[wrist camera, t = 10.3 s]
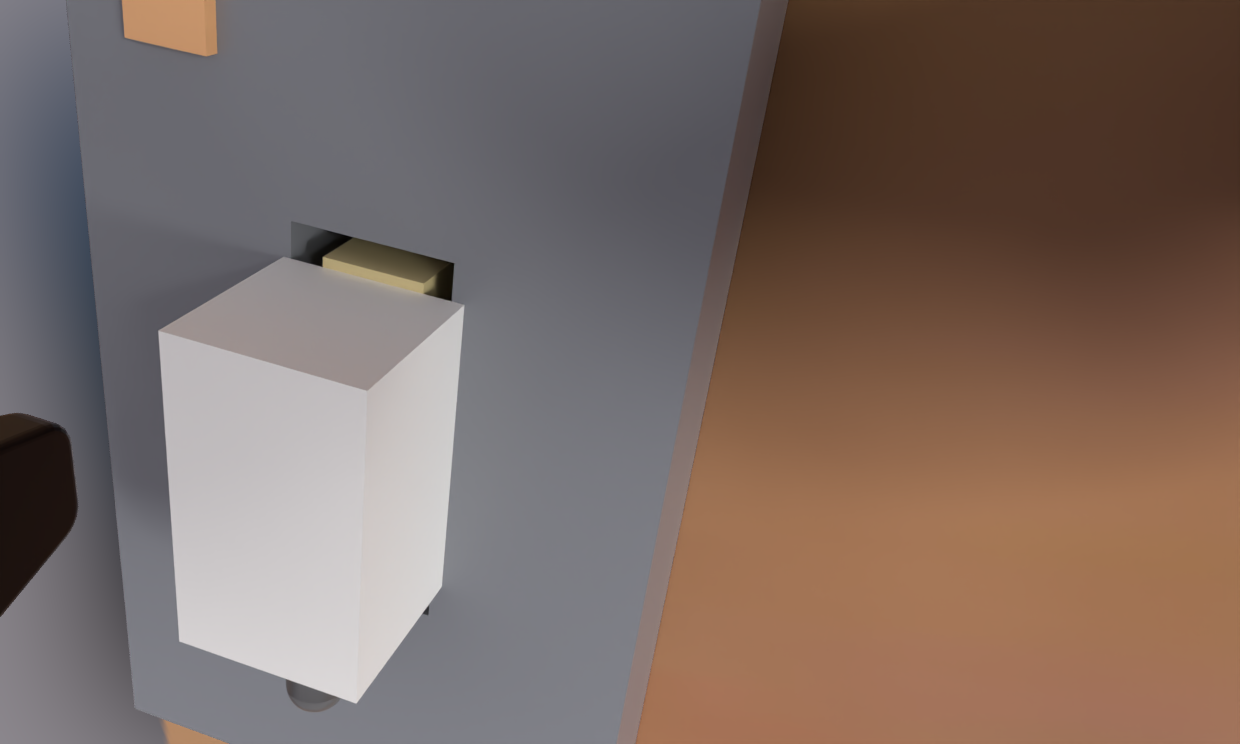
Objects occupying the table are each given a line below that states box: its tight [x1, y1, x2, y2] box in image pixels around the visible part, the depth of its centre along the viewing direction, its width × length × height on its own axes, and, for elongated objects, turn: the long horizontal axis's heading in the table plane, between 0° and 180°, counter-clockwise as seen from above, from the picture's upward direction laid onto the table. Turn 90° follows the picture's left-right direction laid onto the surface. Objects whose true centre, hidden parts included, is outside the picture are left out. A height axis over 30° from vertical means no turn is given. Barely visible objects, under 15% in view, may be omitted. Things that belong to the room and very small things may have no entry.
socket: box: [66, 0, 788, 744], centre depth 22 cm, size 12×20×3 cm, turn 172°
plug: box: [158, 237, 464, 712], centre depth 21 cm, size 4×9×6 cm, turn 172°
